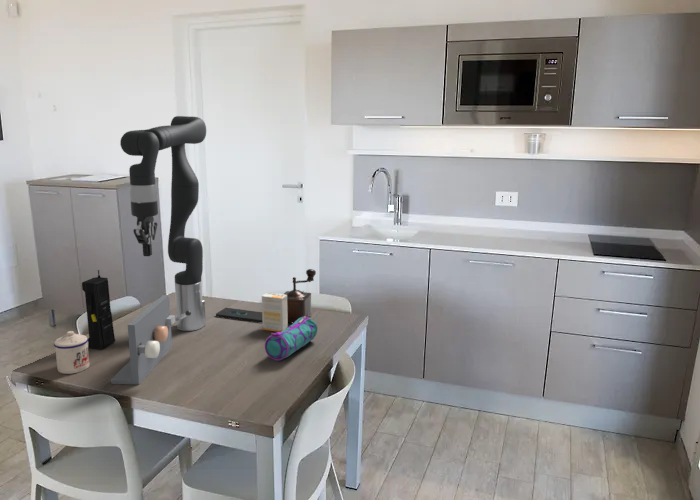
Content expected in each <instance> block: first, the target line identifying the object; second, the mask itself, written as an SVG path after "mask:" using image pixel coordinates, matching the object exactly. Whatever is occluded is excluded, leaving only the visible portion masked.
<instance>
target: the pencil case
mask: <svg viewBox="0 0 700 500" xmlns="http://www.w3.org/2000/svg"><path fill="white" fill-rule="evenodd" d="M317 333H318V325H317V323H316V321H314V320H312V318H311V317H310V318H308V317H305V316H304V317H301V318H299V319H297V320H295V322H294V323H291V324H290V325H288V327H287V328H286V329H285V330H283V331H282V332H275V333H273V332H271V333H270V334H271V335H269V336H268V337H267V338H266V339H265V340H264V342H265V343H264V351H265V353H266V355H267V357H269V358H270V359H271V360H273V361H278V362H279V361H282V360H284V359H285V358H288V357H289V356H291V355H292V354H294V353H295V352H296V351H298V350H300V349H301V348H302V347H305V346H306V345H307V344H309V342H311V341H312V340H314V339H315V337H316V336H317Z"/></svg>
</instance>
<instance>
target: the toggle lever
mask: <svg viewBox="0 0 700 500" xmlns="http://www.w3.org/2000/svg"><path fill="white" fill-rule="evenodd" d="M190 315H191V311H189V310H188V311H186V312H185V313H184V314H182V315H180V316H178V317H177V316H175V322H177V321H179V320H180V319H182V318H184V317H186V316H190Z"/></svg>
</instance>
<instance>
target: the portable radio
mask: <svg viewBox="0 0 700 500" xmlns="http://www.w3.org/2000/svg"><path fill="white" fill-rule="evenodd" d="M97 273H98V274H97V277H92V278H89V279H87V280H84V281H82V282H81V287H82V288H81V289H82V291H83V292H84V298H85V308H86V316H87V318H86V319H87V327H88V337H87V338H88V348H89V349H98V350H104V349H105V348H107V347H109V346H111V345H112V344H114V343H115V342H116V338H115V330H114V329H115V328H114V324H113V323H114V322H113V313H112V310H111V299H110V289H109V279H108V277H103V276H102V277H101V275H100V270H97Z"/></svg>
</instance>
